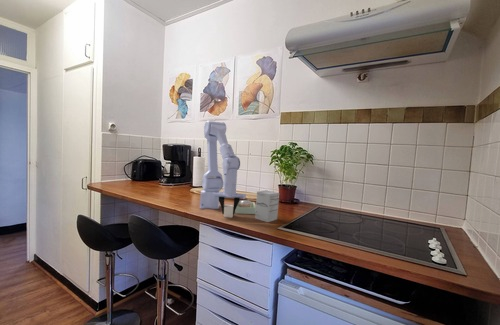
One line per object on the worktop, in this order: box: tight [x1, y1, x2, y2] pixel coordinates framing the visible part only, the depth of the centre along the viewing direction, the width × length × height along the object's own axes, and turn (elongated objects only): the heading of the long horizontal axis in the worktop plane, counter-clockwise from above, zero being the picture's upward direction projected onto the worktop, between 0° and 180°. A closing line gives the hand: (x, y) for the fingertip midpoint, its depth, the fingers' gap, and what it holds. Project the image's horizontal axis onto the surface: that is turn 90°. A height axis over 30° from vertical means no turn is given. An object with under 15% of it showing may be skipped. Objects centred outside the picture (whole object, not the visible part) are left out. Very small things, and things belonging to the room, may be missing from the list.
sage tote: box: [234, 201, 256, 215], centre depth 117 cm, size 10×12×4 cm
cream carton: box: [223, 204, 234, 218], centre depth 105 cm, size 4×4×5 cm
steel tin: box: [239, 199, 252, 207], centre depth 118 cm, size 6×6×4 cm
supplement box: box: [254, 189, 280, 223], centre depth 104 cm, size 7×7×13 cm
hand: (228, 213), depth 105 cm, fingers closed on cream carton, 4 cm apart
